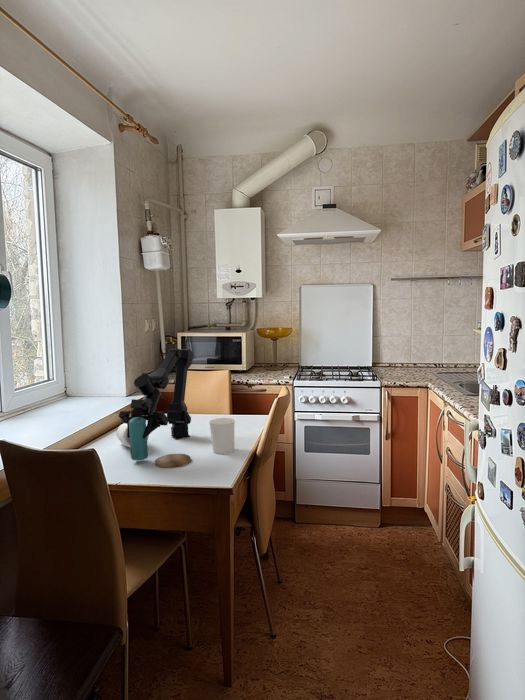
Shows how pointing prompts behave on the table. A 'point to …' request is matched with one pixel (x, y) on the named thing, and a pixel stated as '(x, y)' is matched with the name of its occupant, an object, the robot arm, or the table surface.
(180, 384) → the robot arm
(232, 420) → the white cup
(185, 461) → the walnut coaster
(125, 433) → the jar
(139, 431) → the beverage bottle
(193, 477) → the table surface
